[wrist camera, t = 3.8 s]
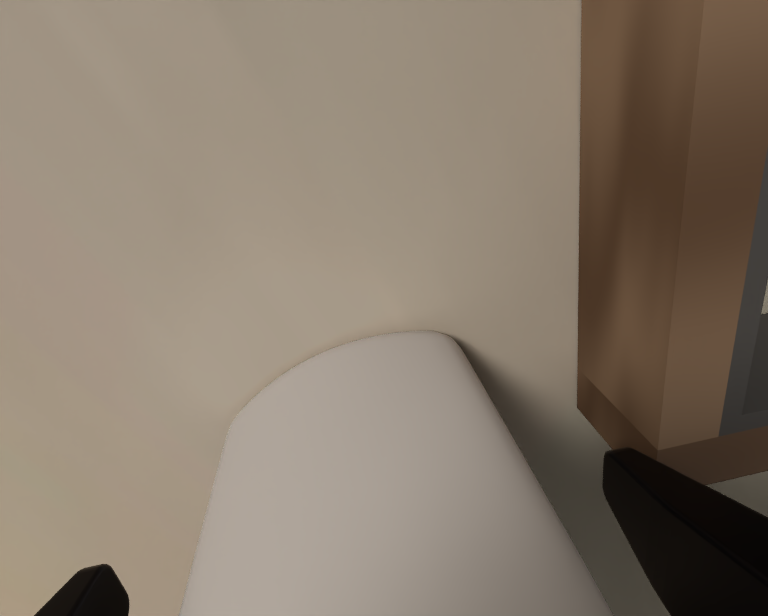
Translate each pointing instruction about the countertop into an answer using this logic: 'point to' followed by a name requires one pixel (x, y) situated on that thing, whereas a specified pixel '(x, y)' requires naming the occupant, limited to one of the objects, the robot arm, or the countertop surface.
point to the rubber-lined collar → (675, 232)
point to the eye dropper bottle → (382, 498)
